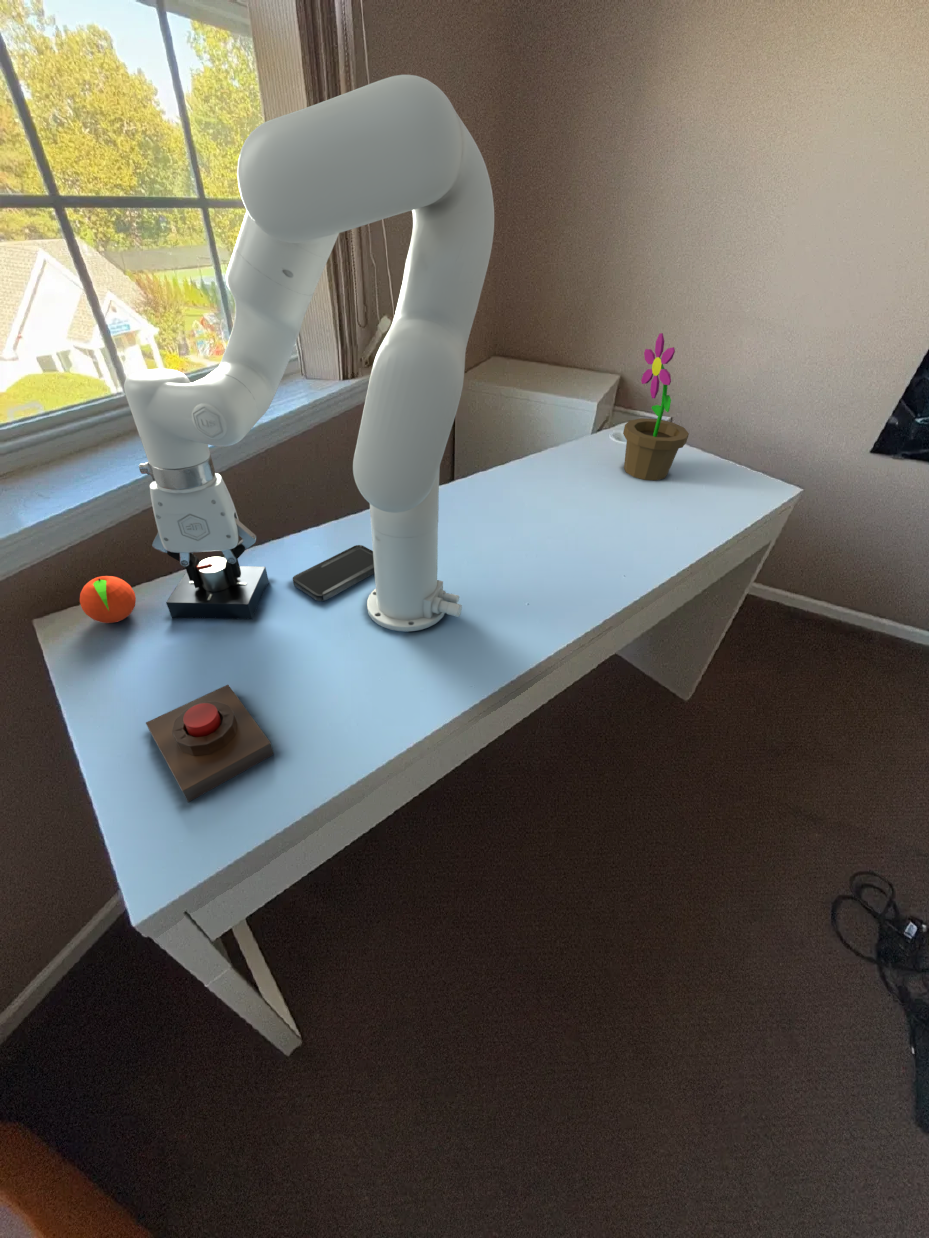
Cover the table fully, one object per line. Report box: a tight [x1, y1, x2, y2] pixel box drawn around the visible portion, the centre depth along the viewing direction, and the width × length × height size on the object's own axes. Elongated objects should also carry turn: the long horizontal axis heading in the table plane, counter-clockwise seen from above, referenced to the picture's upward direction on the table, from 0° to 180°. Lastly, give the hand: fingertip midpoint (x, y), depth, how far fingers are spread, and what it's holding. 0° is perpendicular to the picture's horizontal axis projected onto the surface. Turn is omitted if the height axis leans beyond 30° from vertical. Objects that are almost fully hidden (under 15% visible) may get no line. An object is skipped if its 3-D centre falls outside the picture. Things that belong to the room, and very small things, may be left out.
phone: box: [292, 544, 375, 602], centre depth 93 cm, size 8×1×15 cm
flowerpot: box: [622, 332, 690, 481], centre depth 122 cm, size 14×14×30 cm
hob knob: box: [197, 556, 231, 592], centre depth 84 cm, size 4×4×4 cm
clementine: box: [79, 575, 137, 624], centre depth 80 cm, size 8×7×7 cm
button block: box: [145, 684, 275, 803], centre depth 64 cm, size 12×10×4 cm
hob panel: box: [165, 565, 270, 620], centre depth 86 cm, size 12×10×3 cm
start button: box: [183, 703, 221, 737], centre depth 62 cm, size 4×4×2 cm
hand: (217, 580), depth 85 cm, fingers closed on hob knob, 4 cm apart
